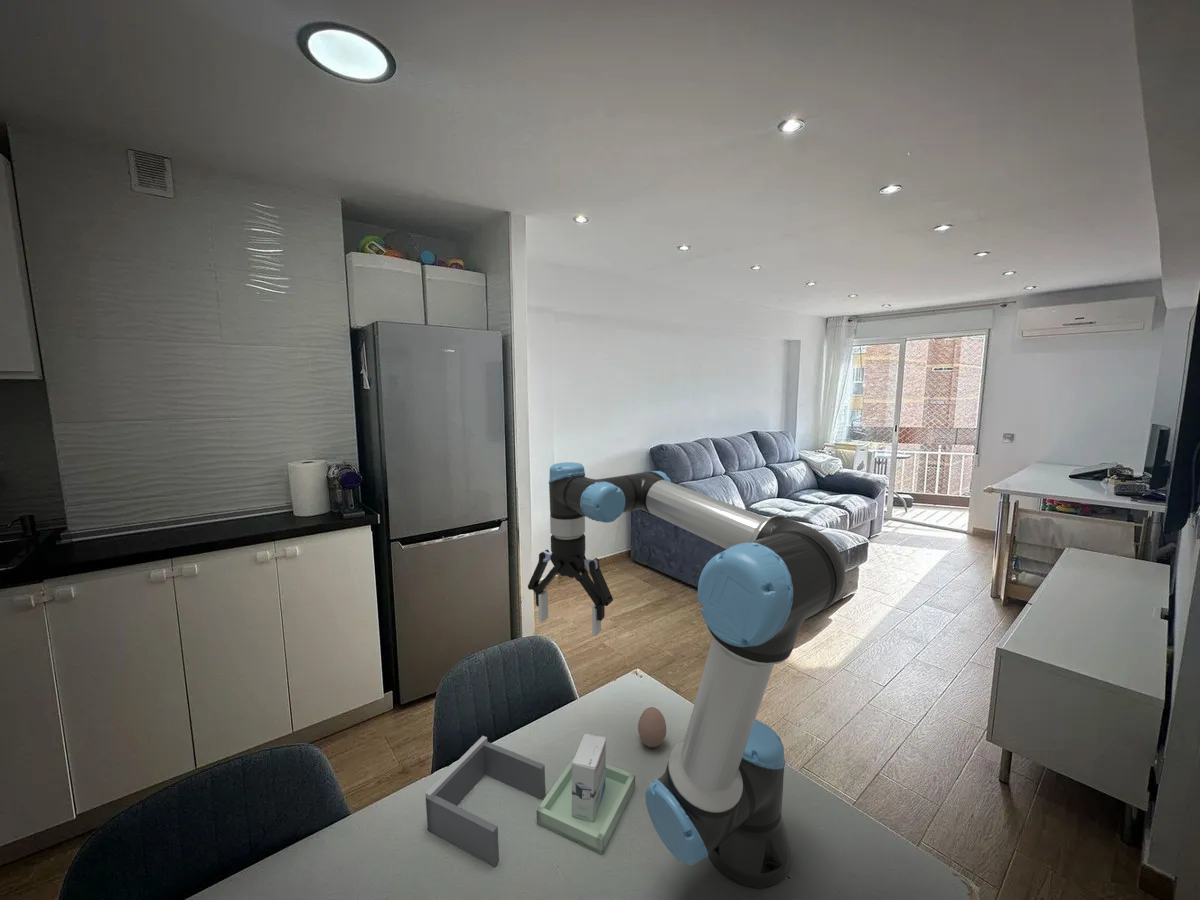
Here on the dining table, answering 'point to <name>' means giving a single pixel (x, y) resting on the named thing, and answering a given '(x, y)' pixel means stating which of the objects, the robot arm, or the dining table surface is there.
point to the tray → (614, 800)
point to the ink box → (588, 777)
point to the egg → (652, 727)
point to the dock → (459, 782)
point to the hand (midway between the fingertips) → (569, 626)
